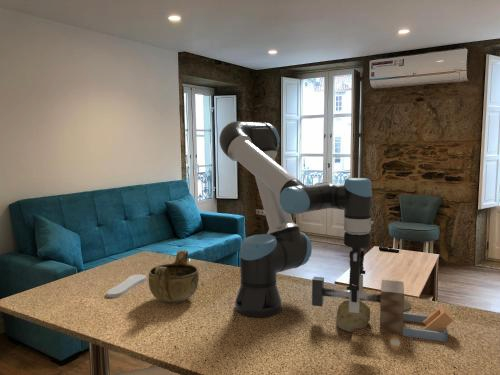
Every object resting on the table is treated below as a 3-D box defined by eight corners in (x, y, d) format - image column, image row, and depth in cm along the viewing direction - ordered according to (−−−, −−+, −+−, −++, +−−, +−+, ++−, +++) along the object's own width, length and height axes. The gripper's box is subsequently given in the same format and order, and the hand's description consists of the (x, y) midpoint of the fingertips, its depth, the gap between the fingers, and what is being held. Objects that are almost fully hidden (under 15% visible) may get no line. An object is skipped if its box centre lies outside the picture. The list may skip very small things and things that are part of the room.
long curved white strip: (149, 279, 163) (149, 275, 163) (119, 299, 142) (118, 295, 141) (133, 278, 165) (133, 273, 164) (101, 298, 143) (101, 293, 143)
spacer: (424, 329, 111) (444, 312, 109) (423, 321, 116) (442, 305, 114) (433, 337, 110) (453, 320, 108) (431, 329, 115) (450, 313, 113)
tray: (402, 340, 110) (403, 328, 110) (401, 323, 121) (402, 312, 120) (447, 346, 107) (447, 334, 106) (442, 329, 117) (443, 317, 117)
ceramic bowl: (164, 287, 152) (163, 248, 151) (207, 290, 149) (207, 250, 147) (136, 311, 130) (134, 266, 129) (186, 315, 127) (185, 268, 126)
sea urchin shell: (415, 310, 126) (397, 291, 126) (396, 326, 127) (377, 307, 128) (410, 299, 135) (392, 281, 135) (392, 314, 136) (375, 297, 137)
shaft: (311, 305, 122) (312, 279, 121) (313, 301, 125) (314, 276, 124) (387, 314, 115) (388, 287, 114) (387, 310, 118) (388, 284, 117)
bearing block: (379, 336, 113) (380, 291, 111) (380, 321, 122) (381, 279, 121) (402, 339, 111) (404, 293, 109) (401, 324, 120) (403, 281, 119)
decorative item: (341, 343, 115) (364, 326, 110) (323, 312, 121) (344, 294, 115) (361, 336, 122) (383, 319, 116) (343, 307, 127) (363, 290, 121)
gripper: (368, 242, 104) (367, 322, 106) (372, 224, 127) (371, 290, 129) (338, 240, 106) (337, 318, 108) (348, 223, 130) (347, 287, 132)
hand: (356, 303), depth 119 cm, fingers open, 13 cm apart
